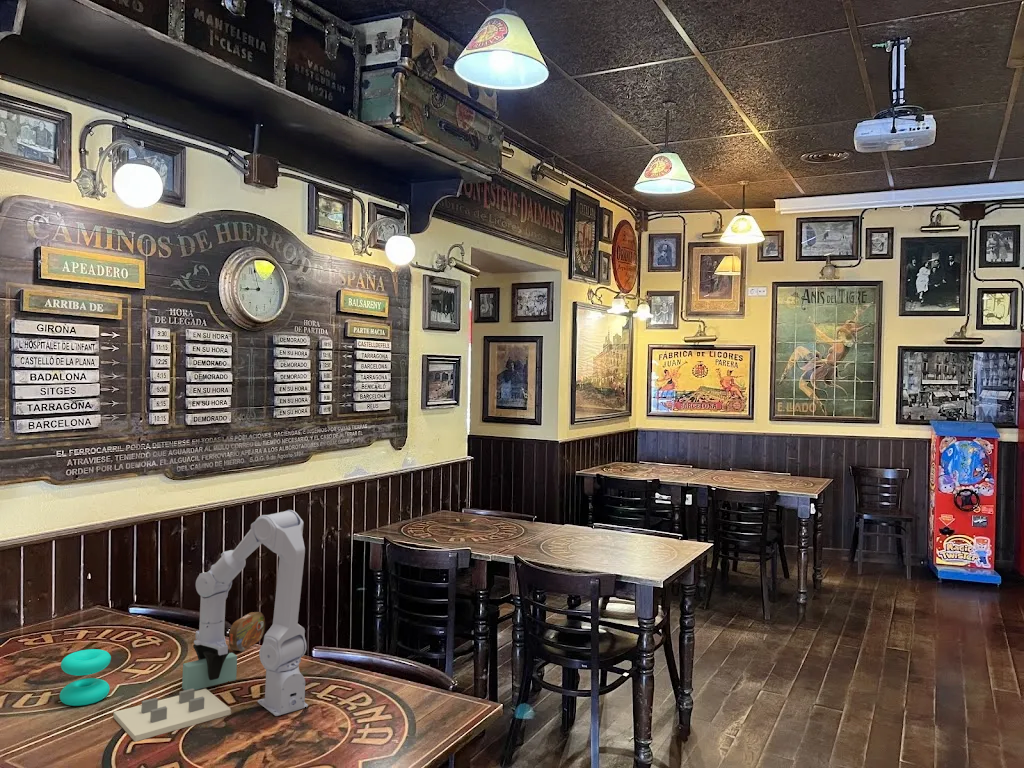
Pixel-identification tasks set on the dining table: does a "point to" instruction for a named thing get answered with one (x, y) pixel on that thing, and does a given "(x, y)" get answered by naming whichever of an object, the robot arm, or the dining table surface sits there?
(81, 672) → the donuts
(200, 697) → the hinge board
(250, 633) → the tin
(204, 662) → the teal rectangular block
